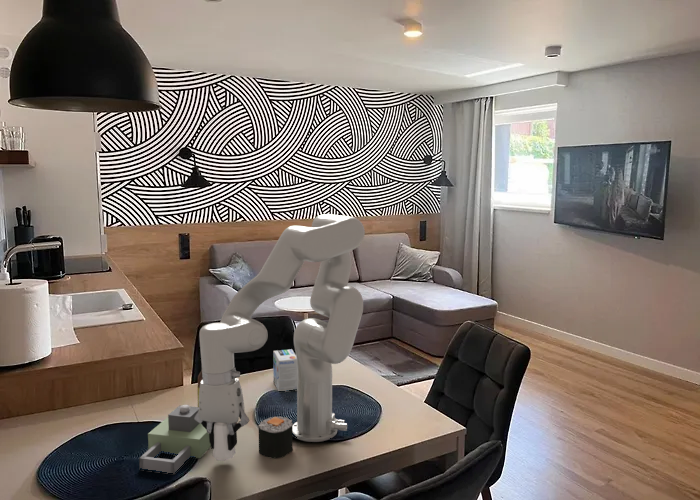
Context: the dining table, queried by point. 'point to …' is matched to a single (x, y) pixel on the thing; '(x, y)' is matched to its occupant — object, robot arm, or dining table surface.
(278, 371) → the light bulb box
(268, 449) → the sushi
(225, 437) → the pepper shaker
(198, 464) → the dining table surface
